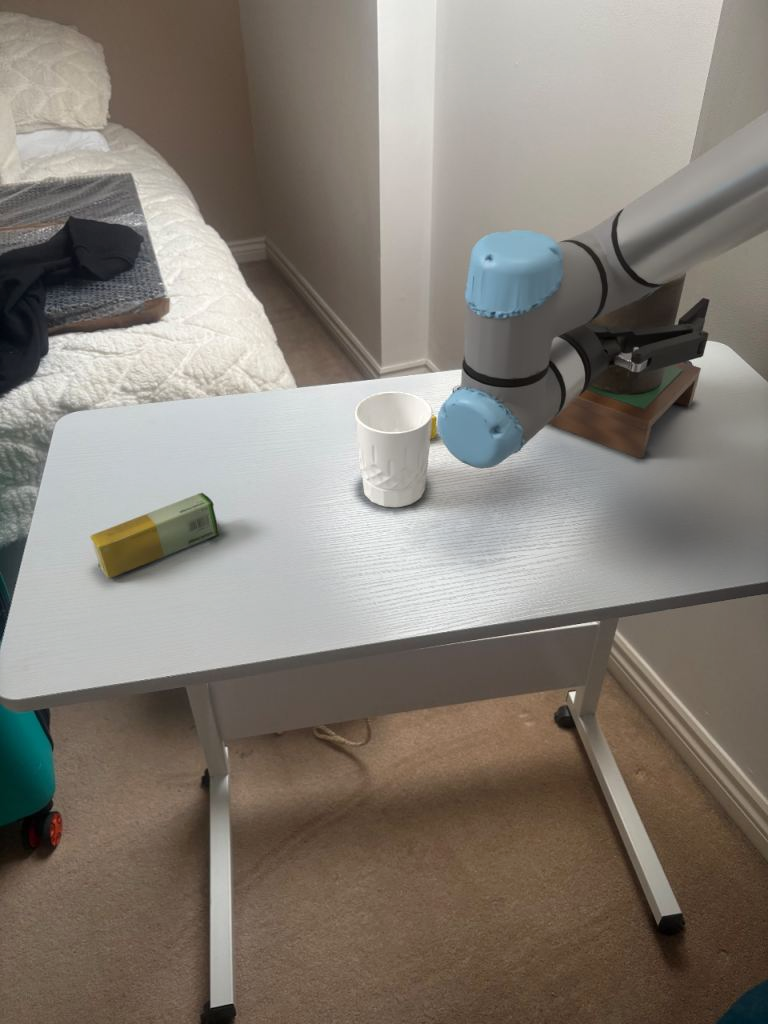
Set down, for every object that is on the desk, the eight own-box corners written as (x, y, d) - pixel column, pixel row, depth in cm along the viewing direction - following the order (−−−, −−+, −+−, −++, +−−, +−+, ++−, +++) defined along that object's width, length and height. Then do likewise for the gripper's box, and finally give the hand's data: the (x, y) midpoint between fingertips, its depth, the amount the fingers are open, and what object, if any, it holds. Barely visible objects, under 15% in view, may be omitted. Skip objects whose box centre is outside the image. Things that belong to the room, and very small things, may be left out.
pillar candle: (612, 402, 94) (637, 276, 85) (563, 364, 101) (580, 244, 92) (680, 383, 97) (711, 259, 88) (627, 347, 104) (651, 229, 95)
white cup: (417, 518, 87) (419, 439, 80) (347, 503, 89) (343, 425, 82) (438, 475, 93) (441, 398, 86) (371, 462, 95) (370, 386, 88)
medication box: (210, 522, 87) (203, 490, 84) (221, 534, 85) (215, 501, 83) (98, 567, 81) (88, 534, 79) (107, 580, 79) (97, 547, 77)
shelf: (692, 403, 104) (705, 353, 99) (640, 458, 95) (652, 406, 90) (590, 369, 110) (598, 320, 106) (533, 418, 101) (539, 367, 97)
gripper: (448, 364, 90) (546, 296, 103) (665, 443, 78) (745, 355, 91) (451, 299, 86) (553, 237, 98) (682, 373, 74) (764, 291, 86)
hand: (645, 294), depth 95 cm, fingers open, 13 cm apart
